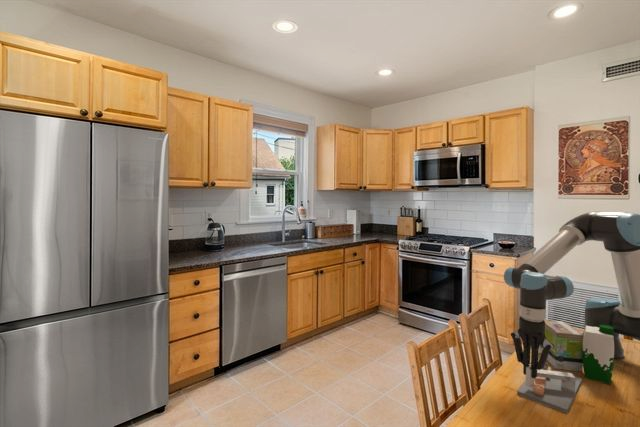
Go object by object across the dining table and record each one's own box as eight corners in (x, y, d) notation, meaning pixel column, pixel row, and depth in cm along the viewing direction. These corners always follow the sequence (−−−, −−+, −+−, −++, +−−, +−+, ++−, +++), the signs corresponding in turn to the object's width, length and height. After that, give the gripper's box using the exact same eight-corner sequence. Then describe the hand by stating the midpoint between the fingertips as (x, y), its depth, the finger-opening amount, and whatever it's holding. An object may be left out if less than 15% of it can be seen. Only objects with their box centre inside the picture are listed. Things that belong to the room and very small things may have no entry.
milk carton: (613, 386, 118) (615, 332, 117) (581, 378, 124) (583, 325, 123) (612, 376, 125) (614, 324, 124) (581, 368, 131) (583, 319, 130)
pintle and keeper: (539, 370, 127) (539, 357, 127) (581, 388, 115) (582, 374, 115) (520, 379, 121) (520, 365, 121) (562, 399, 109) (562, 384, 109)
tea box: (583, 372, 129) (585, 334, 128) (554, 369, 131) (556, 332, 130) (563, 354, 143) (564, 320, 143) (538, 352, 145) (539, 318, 145)
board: (537, 367, 132) (537, 364, 132) (581, 381, 122) (582, 378, 122) (517, 394, 114) (517, 390, 114) (567, 413, 104) (567, 409, 104)
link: (534, 368, 128) (534, 363, 128) (550, 372, 125) (550, 367, 125) (528, 392, 112) (529, 386, 112) (547, 398, 109) (547, 392, 109)
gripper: (506, 314, 117) (504, 379, 118) (548, 326, 106) (545, 398, 107) (517, 310, 121) (515, 373, 122) (558, 322, 110) (556, 391, 111)
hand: (529, 385), depth 114 cm, fingers closed
